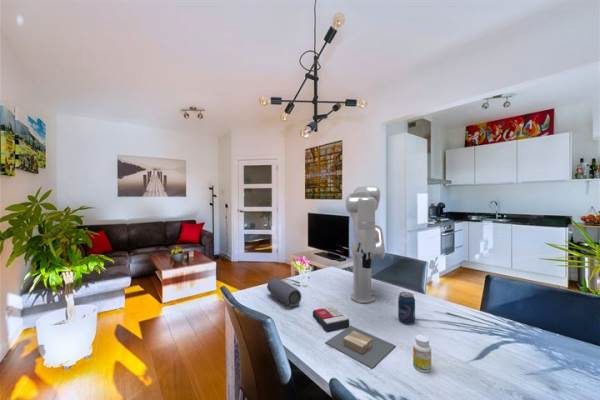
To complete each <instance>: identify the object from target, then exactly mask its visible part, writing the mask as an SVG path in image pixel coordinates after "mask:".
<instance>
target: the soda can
mask: <svg viewBox="0 0 600 400" xmlns="http://www.w3.org/2000/svg"><path fill="white" fill-rule="evenodd" d="M397 299H398V300H397V302H398V304H397V309H398V311H397V313H398V314H397V317H398V319H399V321H400V322H401V323H403V324H405V325H413V324H414V323H415V322H416V299H415V297H414V294H413V293H411V292H407V291H401V292H399V295H398V297H397Z"/></svg>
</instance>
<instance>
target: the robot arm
mask: <svg viewBox="0 0 600 400" xmlns="http://www.w3.org/2000/svg"><path fill="white" fill-rule="evenodd" d="M345 198H346V199H345V208H346V212H348V213H349V215H350V217H351V219H352V225H353V226H352V229H353V238H354V240H355V241H354V242H352V244H351V249H350V250H351V255H352V266H353V267H352V270H353V273H352V274H353V277H352V278H353V281H352V282H353V293H351V294H350V299H351V300H352V301H354V302H355V303H359V304H360V303H361V304H371V303H374V302H375V296H374V295H373V292H375V290H376V289H375V288H374V287H372V266H371V265H372V261H371V260H383V259H384V258H385V255H386V247H385V241H384V233H383V229H382V227H381V226H380V225H378V224H377V225H376V211H377V210H378V208H379V203H380V201H381V200H380V199H381V191H380V188H379V187H378V186H358V187H356V188H355V189H354V190H353V193H349V194H347V196H346V197H345Z"/></svg>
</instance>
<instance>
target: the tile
mask: <svg viewBox="0 0 600 400" xmlns="http://www.w3.org/2000/svg"><path fill="white" fill-rule="evenodd" d="M343 341H344V345H345V346H347V347H349V348H351V349H353V350H355V351H357V352H359V353H361V354H363V353H364V352H365V351H367V350H368V349H369V348H370V347H371V346H372V339H371V338H369V337H367V336H364V335H362V334H360V333H358V332H355V331H353V332H351V333H350V334H349V335H347V336H346V337H344V338H343Z"/></svg>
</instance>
